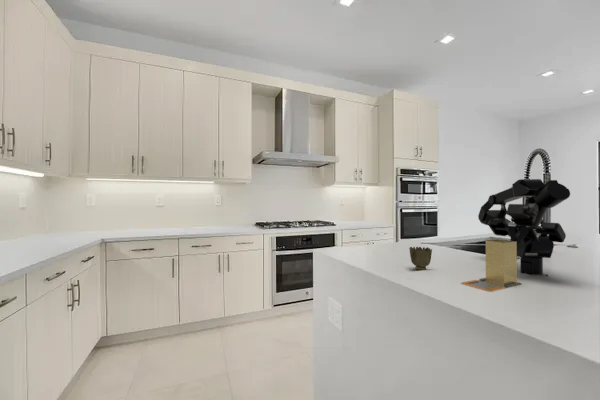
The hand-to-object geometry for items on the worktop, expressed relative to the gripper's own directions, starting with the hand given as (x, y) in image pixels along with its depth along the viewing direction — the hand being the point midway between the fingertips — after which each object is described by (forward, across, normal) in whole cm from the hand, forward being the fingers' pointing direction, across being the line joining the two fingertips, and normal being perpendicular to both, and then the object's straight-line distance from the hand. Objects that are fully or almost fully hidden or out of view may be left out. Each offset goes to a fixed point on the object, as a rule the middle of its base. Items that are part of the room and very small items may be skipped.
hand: (512, 250), depth 84 cm
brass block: (+11, 0, +2) cm, 11 cm away
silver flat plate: (+14, 0, -1) cm, 15 cm away
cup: (+16, -23, -2) cm, 28 cm away
